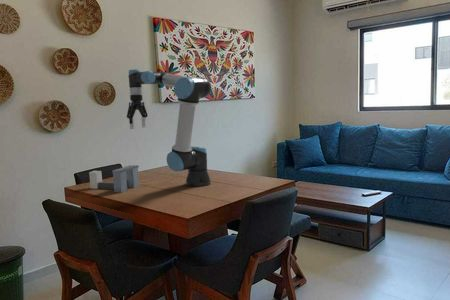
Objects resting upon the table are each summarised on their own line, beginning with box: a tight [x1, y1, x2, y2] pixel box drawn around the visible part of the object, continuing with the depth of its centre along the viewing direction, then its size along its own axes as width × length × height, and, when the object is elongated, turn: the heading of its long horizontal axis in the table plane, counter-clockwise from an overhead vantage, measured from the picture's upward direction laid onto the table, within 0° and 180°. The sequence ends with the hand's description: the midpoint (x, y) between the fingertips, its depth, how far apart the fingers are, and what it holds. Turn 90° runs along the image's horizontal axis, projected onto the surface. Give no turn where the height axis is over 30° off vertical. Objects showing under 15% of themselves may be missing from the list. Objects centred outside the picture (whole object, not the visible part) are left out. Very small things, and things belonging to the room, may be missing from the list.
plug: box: [88, 170, 114, 190], centre depth 228 cm, size 20×5×10 cm, turn 70°
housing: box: [111, 164, 140, 194], centre depth 223 cm, size 6×18×13 cm, turn 160°
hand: (138, 128), depth 240 cm, fingers open, 13 cm apart
